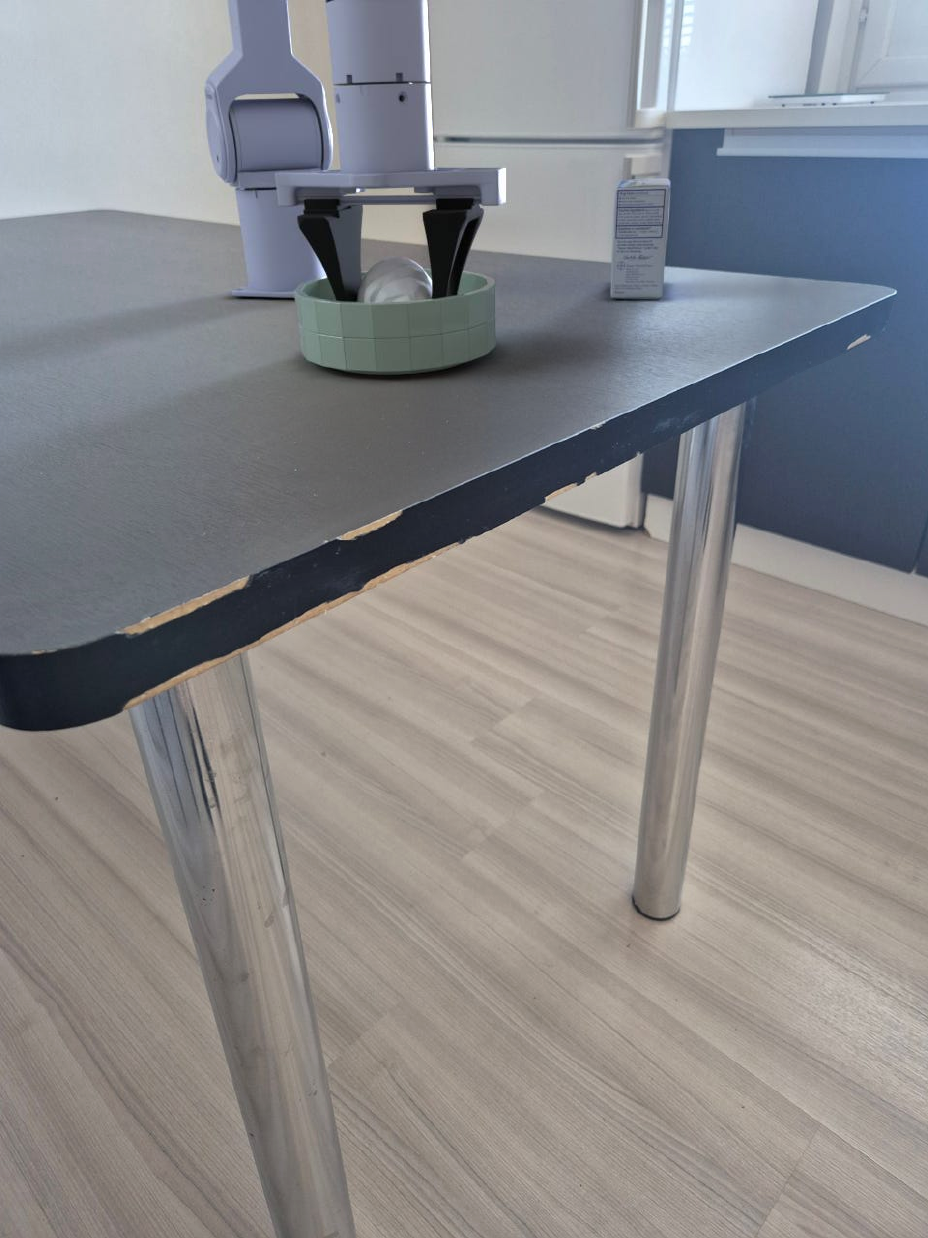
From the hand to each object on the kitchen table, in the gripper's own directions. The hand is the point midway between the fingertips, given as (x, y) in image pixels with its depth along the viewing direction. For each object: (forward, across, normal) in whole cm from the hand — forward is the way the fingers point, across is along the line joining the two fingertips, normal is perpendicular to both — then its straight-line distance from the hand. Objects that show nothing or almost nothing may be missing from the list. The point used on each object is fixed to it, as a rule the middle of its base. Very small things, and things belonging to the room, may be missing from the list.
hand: (398, 325), depth 57 cm
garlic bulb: (+2, +1, 0) cm, 2 cm away
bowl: (+2, 0, 0) cm, 2 cm away
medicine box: (+2, +13, +25) cm, 28 cm away
